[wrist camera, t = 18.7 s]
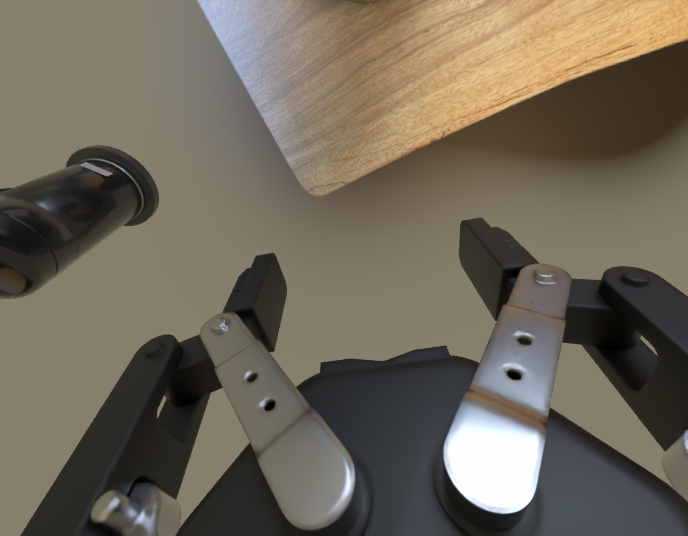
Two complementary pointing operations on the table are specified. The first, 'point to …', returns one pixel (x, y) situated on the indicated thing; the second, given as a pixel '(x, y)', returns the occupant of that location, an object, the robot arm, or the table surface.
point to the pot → (363, 1)
